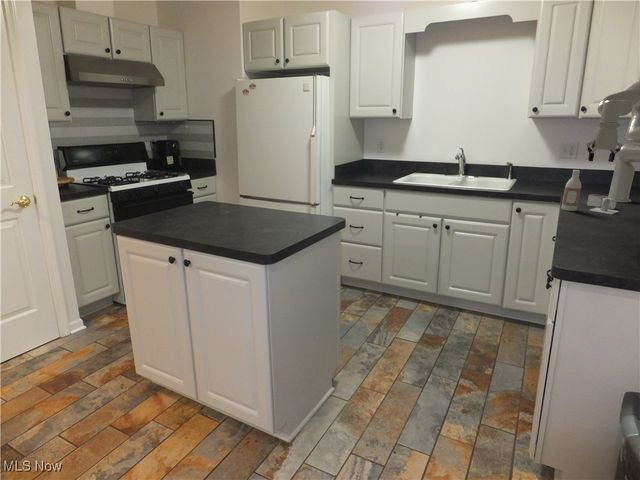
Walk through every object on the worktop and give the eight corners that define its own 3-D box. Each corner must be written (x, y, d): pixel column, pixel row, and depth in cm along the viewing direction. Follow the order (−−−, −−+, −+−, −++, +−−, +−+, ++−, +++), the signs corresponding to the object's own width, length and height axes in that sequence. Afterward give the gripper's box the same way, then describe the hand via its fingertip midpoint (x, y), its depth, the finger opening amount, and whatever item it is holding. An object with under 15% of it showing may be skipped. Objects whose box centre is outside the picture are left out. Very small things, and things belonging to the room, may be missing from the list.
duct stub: (596, 208, 223) (599, 196, 222) (618, 211, 216) (621, 199, 214) (589, 210, 217) (591, 198, 215) (611, 214, 210) (614, 201, 208)
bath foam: (560, 210, 217) (568, 170, 211) (561, 207, 223) (568, 168, 217) (576, 211, 214) (584, 171, 208) (576, 209, 219) (584, 170, 214)
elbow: (586, 205, 230) (588, 195, 229) (591, 203, 234) (593, 193, 233) (611, 209, 222) (614, 198, 220) (615, 207, 226) (618, 197, 224)
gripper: (622, 126, 214) (614, 161, 219) (585, 125, 215) (579, 159, 220) (631, 127, 207) (622, 162, 212) (593, 125, 208) (586, 161, 213)
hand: (600, 161), depth 216 cm, fingers open, 9 cm apart
